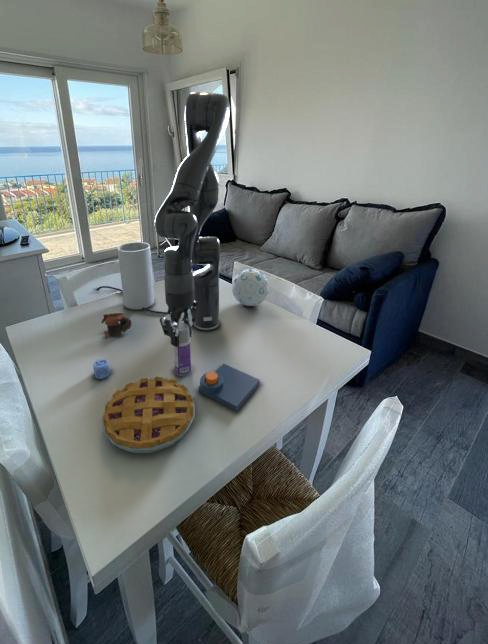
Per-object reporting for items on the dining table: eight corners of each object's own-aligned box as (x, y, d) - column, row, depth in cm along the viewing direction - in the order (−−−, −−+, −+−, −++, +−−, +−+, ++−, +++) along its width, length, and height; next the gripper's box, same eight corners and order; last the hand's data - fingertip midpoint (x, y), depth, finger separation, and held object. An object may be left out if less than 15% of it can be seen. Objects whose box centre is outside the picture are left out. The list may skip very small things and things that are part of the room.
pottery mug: (96, 339, 110) (95, 315, 112) (113, 336, 119) (111, 314, 120) (125, 335, 106) (124, 311, 108) (141, 333, 115) (139, 310, 116)
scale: (195, 391, 86) (195, 381, 84) (221, 367, 95) (222, 357, 94) (235, 413, 79) (235, 402, 77) (259, 384, 88) (260, 374, 87)
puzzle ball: (252, 293, 142) (254, 261, 137) (275, 306, 130) (278, 272, 125) (224, 301, 135) (224, 268, 130) (245, 316, 123) (247, 280, 118)
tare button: (203, 381, 85) (203, 376, 84) (210, 375, 87) (210, 370, 86) (213, 386, 83) (213, 381, 82) (219, 379, 85) (219, 374, 85)
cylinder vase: (126, 297, 139) (119, 242, 130) (155, 296, 140) (150, 241, 131) (122, 311, 128) (115, 252, 118) (153, 309, 129) (149, 250, 119)
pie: (203, 450, 69) (203, 433, 67) (98, 470, 65) (95, 453, 63) (188, 382, 89) (187, 367, 87) (107, 394, 85) (104, 379, 83)
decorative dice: (94, 371, 94) (93, 360, 92) (109, 368, 95) (107, 357, 93) (95, 380, 90) (93, 369, 89) (110, 377, 91) (108, 365, 90)
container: (193, 367, 95) (192, 324, 89) (187, 377, 91) (185, 332, 85) (179, 364, 96) (176, 321, 91) (172, 374, 92) (169, 329, 87)
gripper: (185, 274, 91) (187, 326, 97) (149, 292, 80) (154, 349, 87) (206, 280, 87) (207, 334, 93) (171, 300, 76) (174, 359, 82)
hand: (181, 341), depth 90 cm, fingers closed on container, 4 cm apart
